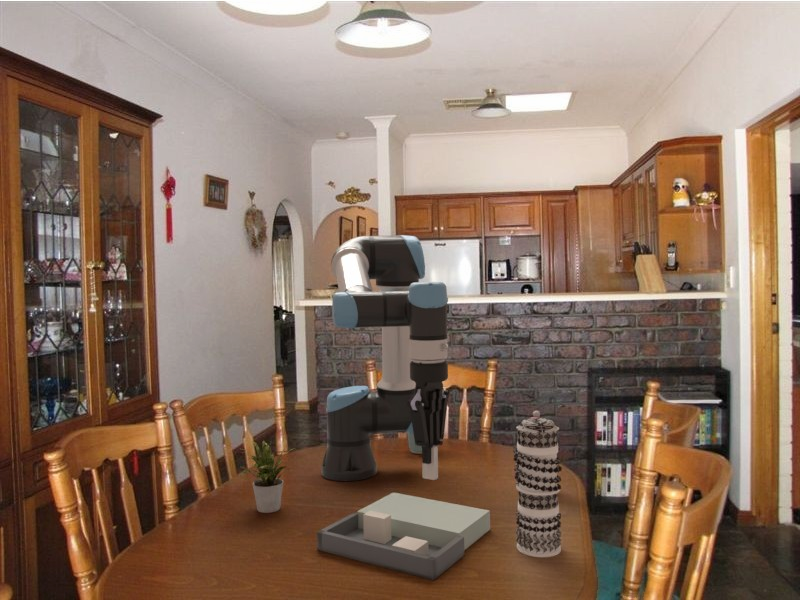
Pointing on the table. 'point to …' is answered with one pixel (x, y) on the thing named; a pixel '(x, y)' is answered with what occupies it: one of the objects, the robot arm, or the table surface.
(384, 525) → the tile
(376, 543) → the tray
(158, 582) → the table surface
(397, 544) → the tile
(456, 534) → the board
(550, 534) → the black and white jar
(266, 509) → the house plant
